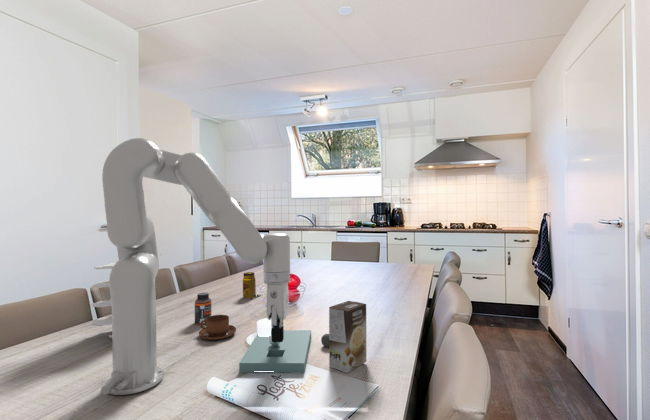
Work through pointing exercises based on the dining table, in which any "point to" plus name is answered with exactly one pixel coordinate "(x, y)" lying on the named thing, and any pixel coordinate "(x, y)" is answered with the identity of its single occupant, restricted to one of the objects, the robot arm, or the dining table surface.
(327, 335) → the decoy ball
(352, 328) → the coffee box
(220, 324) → the cup and saucer
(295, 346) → the grey-green flat board
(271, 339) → the ball
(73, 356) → the dining table surface
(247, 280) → the condiment
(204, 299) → the supplement bottle
